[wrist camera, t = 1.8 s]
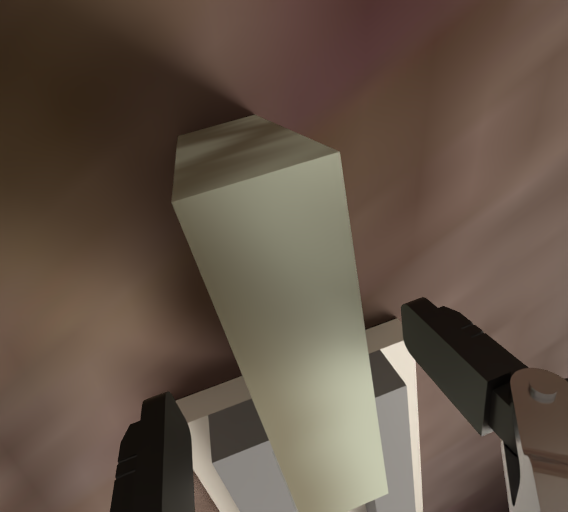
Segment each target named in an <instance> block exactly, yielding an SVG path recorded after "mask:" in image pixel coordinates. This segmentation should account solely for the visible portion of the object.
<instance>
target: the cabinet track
mask: <svg viewBox="0 0 568 512" xmlns="http://www.w3.org/2000/svg"><path fill="white" fill-rule="evenodd" d="M365 332H366V339H367V346H368V353H369V360H370V367H371V374H372V381H373V388H374V395H375V402H376V409H377V416H378V423H379V430H380V437H381V444H382V451H383V458H384V465H385V472H386V479H387V486H388V493H389V494H386V495H384V496H382V497H379V498H377V499H375V500H373V501H370V502H368V503H366V504H363V505H361V506H359V507H357V508H354V509H352V510H350V511H347V512H423V501H422V481H421V462H420V442H419V423H418V403H417V384H416V364H415V359H414V358H413V357H412V356H411V355H410V353H409V352H408V350H407V348H406V346H405V344H404V340H403V332H402V323H401V322H400V321H399V319H398V318H396V319H394V320H391V321H388V322H386V323H383V324H380V325H378V326H375V327H372V328H369V329H367V330H365ZM176 403H177V405H178V407H179V408H180V410H181V412H182V414H183V415H184V417H185V419H186V421H187V423H188V426H189V429H190V433H191V439H192V460H193V470H194V472H195V473H196V475H197V476H198V478H199V479H200V481H201V483H202V484H203V486H204V487H205V489H206V490H207V492H208V494H209V495H210V497H211V498H212V500H213V501H214V503H215V505H216V506H217V508H218V509H219V511H220V512H298V510H297V507H296V505H295V502H294V500H293V497H292V495H291V493H290V490H289V488H288V485H287V483H286V480H285V478H284V476H283V473H282V471H281V468H280V466H279V463H278V461H277V458H276V456H275V454H274V451H273V449H272V446H271V444H270V441H269V439H268V437H267V434H266V432H265V429H264V427H263V424H262V422H261V419H260V417H259V415H258V412H257V410H256V407H255V405H254V402H253V400H252V398H251V395H250V393H249V390H248V388H247V385H246V383H245V380H244V378H243V376H240V377H238V378H235V379H232V380H230V381H227V382H224V383H222V384H219V385H216V386H214V387H211V388H208V389H206V390H203V391H200V392H197V393H195V394H192V395H189V396H187V397H184V398H181V399H179V400H176Z"/></svg>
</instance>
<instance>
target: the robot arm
mask: <svg viewBox="0 0 568 512" xmlns="http://www.w3.org/2000/svg"><path fill="white" fill-rule="evenodd" d="M401 316H402V332H403V340H404V344H405V346H406V348H407V350H408V352H409V353H410V355H411V356H412V357H413V358H414V359H415V360H416V362H417V363H418V364H419V365H420V366H421V367H422V368H423V370H424V371H425V372H426V373H427V374H428V375H429V377H430V378H431V379H432V380H433V381H434V382H435V384H436V385H437V386H438V387H439V388H440V389H441V390H442V392H443V393H444V394H445V395H446V396H447V397H448V399H449V400H450V401H451V402H452V403H453V404H454V405H455V407H456V408H457V409H458V410H459V411H460V412H461V414H462V415H463V416H464V417H465V418H466V419H467V420H468V422H469V423H470V424H471V425H472V426H473V427H474V429H475V430H476V431H477V432H478V433H479V434H480V435H481V436H484V435H486V434H488V433H490V432H492V431H494V432H495V433H496V434H497V435H498V436H499V437H500V438H501V451H502V458H503V466H504V473H505V481H506V488H507V496H508V503H509V512H568V378H566V379H564V378H562V377H560V376H559V375H557V374H555V373H553V372H550V371H548V370H544V369H539V368H528V367H527V366H526V365H524V364H523V363H522V362H521V361H519V360H518V359H517V358H516V357H514V356H513V355H512V354H511V353H509V352H508V351H507V350H506V349H504V348H503V347H502V346H501V345H499V344H498V343H497V342H496V341H495V340H493V339H492V338H491V337H490V336H488V335H487V334H486V333H485V334H484V333H483V331H482V330H481V329H480V328H478V327H477V326H476V325H473V323H472V322H471V321H470V320H468V319H467V318H466V317H465V316H463V315H462V314H461V313H460V312H457V311H455V310H452V309H450V308H447V307H445V306H442V307H440V308H437V307H436V306H435V305H434V304H432V303H431V302H430V301H429V300H428V299H426V298H424V297H422V298H419V299H416V300H414V301H411V302H408V303H405V304H403V305H402V306H401ZM115 477H116V480H115V482H114V489H113V495H112V502H111V508H110V512H195V506H194V483H193V460H192V439H191V433H190V429H189V426H188V423H187V421H186V419H185V417H184V415H183V414H182V412H181V410H180V408H179V407H178V405H177V403H176V401H175V400H174V398H173V396H172V394H171V393H170V392H165V393H162V394H160V395H157V396H154V397H152V398H149V399H146V400H144V401H143V404H142V411H141V420H140V421H138V422H136V423H133V424H130V426H129V428H128V430H127V431H126V433H125V435H124V437H123V439H122V441H121V444H120V450H119V457H118V465H117V469H116V476H115Z"/></svg>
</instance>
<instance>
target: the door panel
mask: <svg viewBox="0 0 568 512" xmlns="http://www.w3.org/2000/svg"><path fill="white" fill-rule="evenodd" d="M171 203H172V205H173V208H174V210H175V212H176V215H177V217H178V220H179V222H180V225H181V227H182V229H183V232H184V234H185V237H186V239H187V242H188V244H189V246H190V249H191V251H192V254H193V256H194V259H195V261H196V264H197V266H198V268H199V271H200V273H201V276H202V278H203V281H204V283H205V285H206V288H207V290H208V293H209V295H210V298H211V300H212V303H213V305H214V307H215V310H216V312H217V315H218V317H219V320H220V322H221V324H222V327H223V329H224V332H225V334H226V337H227V339H228V342H229V344H230V346H231V349H232V351H233V354H234V356H235V359H236V361H237V363H238V366H239V368H240V371H241V373H242V376H243V378H244V380H245V383H246V385H247V388H248V390H249V393H250V395H251V398H252V400H253V402H254V405H255V407H256V410H257V412H258V415H259V417H260V419H261V422H262V424H263V427H264V429H265V432H266V434H267V437H268V439H269V441H270V444H271V446H272V449H273V451H274V454H275V456H276V458H277V461H278V463H279V466H280V468H281V471H282V473H283V476H284V478H285V480H286V483H287V485H288V488H289V490H290V493H291V495H292V497H293V500H294V502H295V505H296V507H297V510H298V512H347V511H350V510H352V509H354V508H357V507H359V506H361V505H363V504H366V503H368V502H370V501H373V500H375V499H377V498H379V497H382V496H384V495H386V494H389V493H388V486H387V479H386V472H385V465H384V458H383V451H382V444H381V437H380V430H379V423H378V416H377V409H376V402H375V395H374V388H373V381H372V374H371V367H370V360H369V353H368V346H367V339H366V332H365V325H364V318H363V311H362V304H361V297H360V291H359V284H358V277H357V270H356V263H355V256H354V249H353V242H352V235H351V228H350V221H349V214H348V207H347V200H346V193H345V186H344V179H343V172H342V165H341V158H340V152H339V151H337V150H335V149H332V148H330V147H328V146H325V145H323V144H321V143H319V142H316V141H314V140H312V139H309V138H307V137H305V136H302V135H300V134H298V133H296V132H293V131H291V130H289V129H286V128H284V127H282V126H280V125H277V124H275V123H273V122H270V121H268V120H266V119H263V118H261V117H259V116H257V115H252V116H248V117H244V118H241V119H237V120H234V121H230V122H226V123H223V124H219V125H216V126H212V127H208V128H205V129H201V130H198V131H194V132H191V133H187V134H183V135H180V136H178V139H177V149H176V160H175V170H174V180H173V191H172V201H171Z"/></svg>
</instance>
